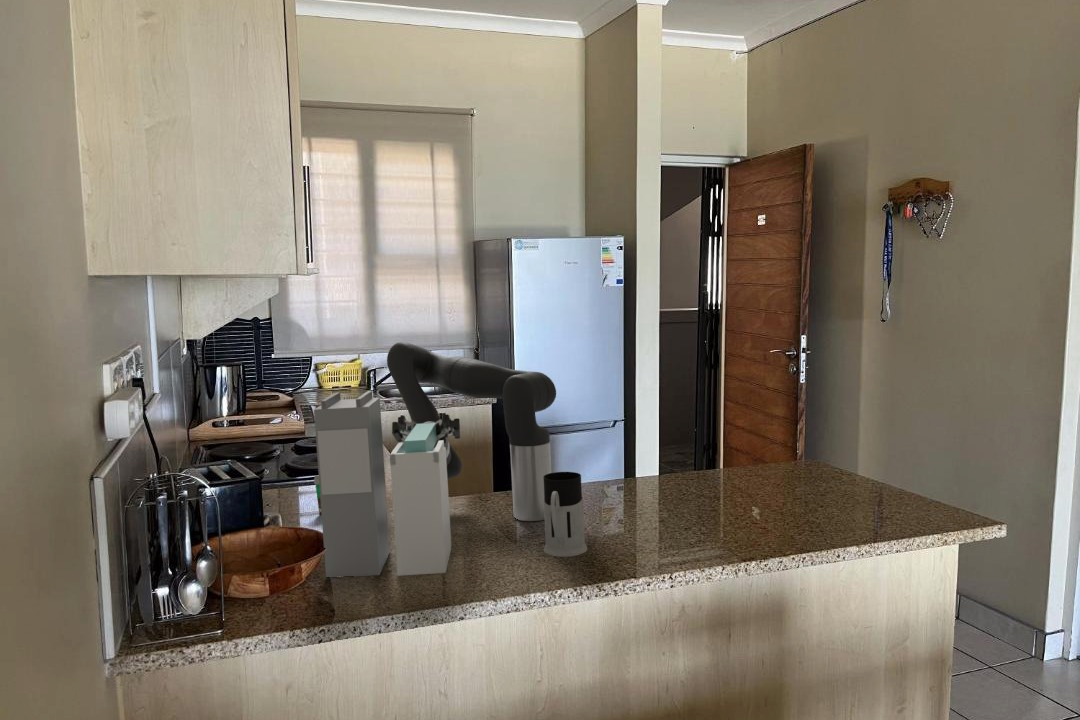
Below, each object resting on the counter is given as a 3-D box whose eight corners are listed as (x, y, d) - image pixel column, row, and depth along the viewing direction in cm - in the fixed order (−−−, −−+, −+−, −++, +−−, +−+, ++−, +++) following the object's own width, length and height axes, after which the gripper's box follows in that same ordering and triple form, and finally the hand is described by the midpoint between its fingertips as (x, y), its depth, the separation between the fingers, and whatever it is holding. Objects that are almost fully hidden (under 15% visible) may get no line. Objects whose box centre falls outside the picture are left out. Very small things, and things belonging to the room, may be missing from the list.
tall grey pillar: (389, 552, 165) (379, 390, 162) (379, 575, 152) (367, 398, 149) (340, 555, 165) (329, 392, 162) (325, 578, 152) (313, 401, 149)
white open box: (451, 547, 167) (445, 437, 165) (445, 572, 152) (438, 451, 150) (407, 550, 166) (400, 440, 164) (397, 575, 151) (389, 454, 149)
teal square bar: (436, 441, 172) (435, 422, 172) (426, 460, 152) (425, 439, 152) (417, 442, 172) (416, 423, 171) (405, 462, 152) (404, 441, 151)
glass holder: (590, 543, 165) (587, 471, 164) (578, 566, 151) (574, 488, 150) (548, 542, 167) (545, 470, 166) (532, 565, 153) (529, 487, 152)
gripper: (400, 429, 182) (388, 402, 168) (463, 426, 183) (457, 399, 168) (399, 461, 179) (387, 436, 165) (464, 458, 180) (457, 433, 165)
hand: (422, 417), depth 166 cm, fingers open, 8 cm apart
